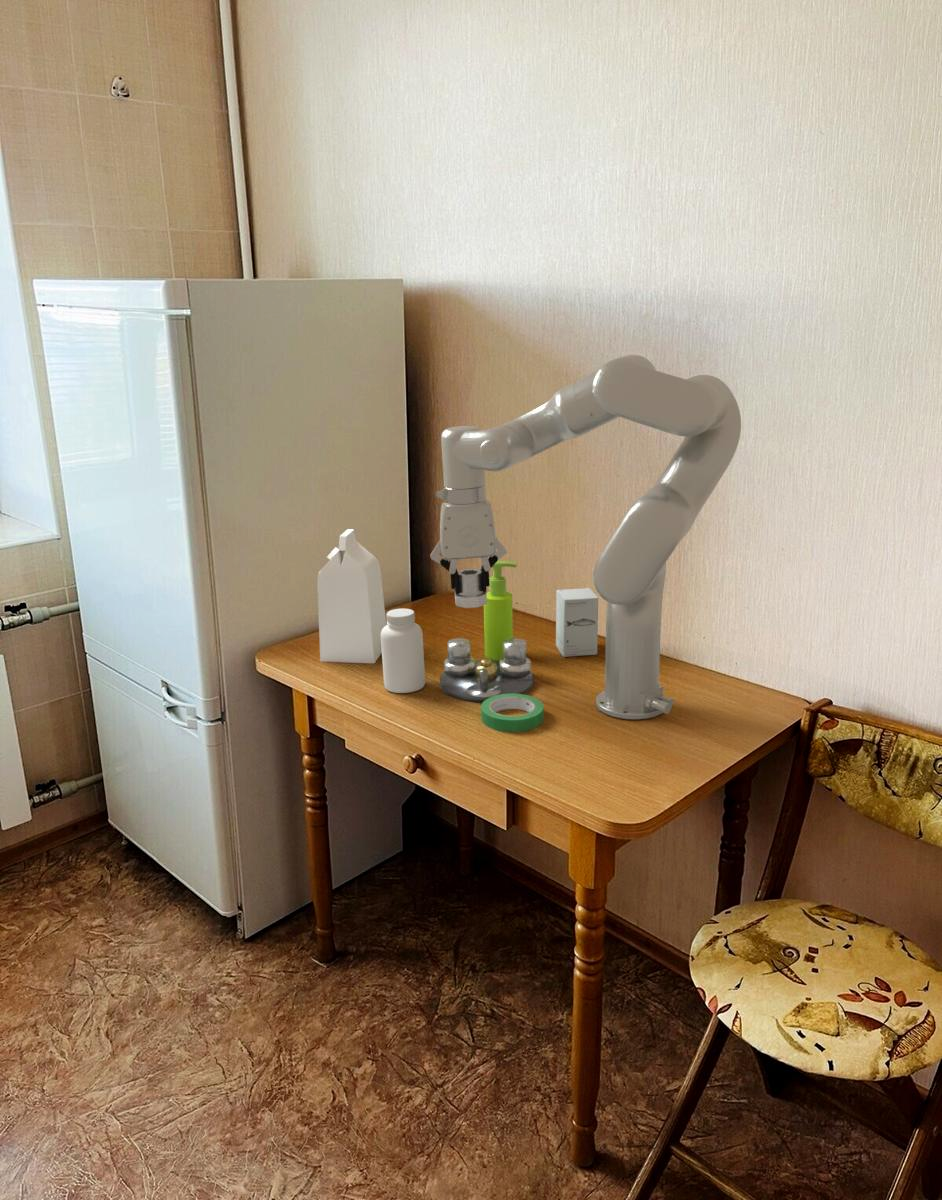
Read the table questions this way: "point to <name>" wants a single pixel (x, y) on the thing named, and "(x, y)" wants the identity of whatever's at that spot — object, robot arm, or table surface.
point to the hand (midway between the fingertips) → (470, 590)
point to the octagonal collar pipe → (470, 589)
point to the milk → (350, 604)
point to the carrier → (485, 672)
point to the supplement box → (576, 622)
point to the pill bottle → (402, 652)
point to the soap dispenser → (498, 613)
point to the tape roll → (512, 722)
